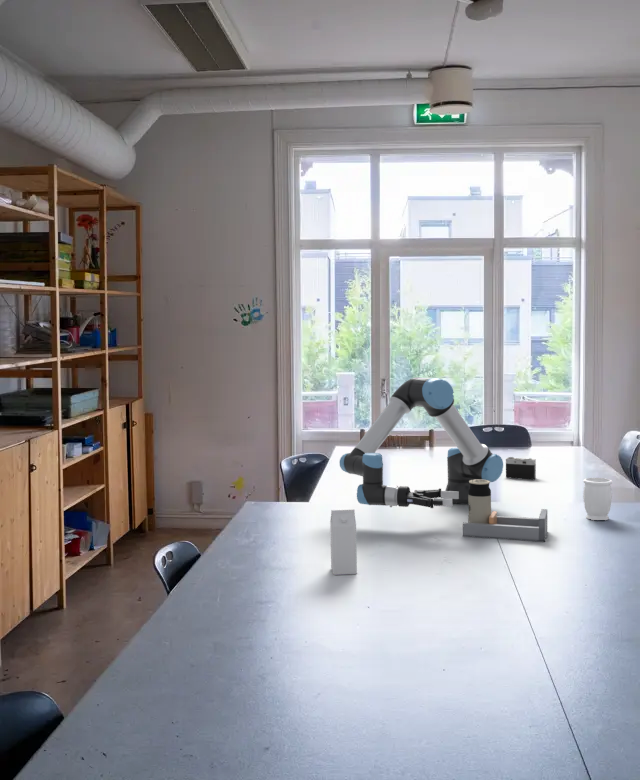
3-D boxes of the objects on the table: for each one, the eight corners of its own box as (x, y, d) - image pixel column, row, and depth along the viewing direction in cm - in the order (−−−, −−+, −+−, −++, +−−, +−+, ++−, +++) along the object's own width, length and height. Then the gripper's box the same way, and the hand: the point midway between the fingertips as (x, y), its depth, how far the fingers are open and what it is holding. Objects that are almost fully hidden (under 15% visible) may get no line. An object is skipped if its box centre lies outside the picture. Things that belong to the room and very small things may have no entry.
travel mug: (492, 528, 285) (492, 479, 284) (489, 533, 277) (489, 483, 276) (470, 527, 287) (470, 478, 286) (467, 532, 280) (466, 482, 279)
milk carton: (331, 568, 242) (330, 507, 241) (354, 567, 243) (353, 507, 241) (333, 575, 235) (332, 513, 234) (357, 574, 236) (356, 512, 234)
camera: (537, 477, 387) (537, 457, 387) (534, 479, 380) (534, 459, 379) (509, 475, 394) (509, 455, 393) (505, 477, 387) (505, 457, 386)
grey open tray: (469, 526, 291) (469, 505, 291) (547, 531, 282) (547, 509, 281) (462, 536, 277) (462, 514, 276) (544, 541, 268) (544, 518, 267)
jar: (614, 522, 293) (614, 482, 292) (585, 521, 295) (585, 482, 294) (609, 515, 303) (609, 477, 302) (581, 515, 305) (581, 477, 304)
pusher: (492, 527, 286) (492, 511, 285) (496, 527, 285) (496, 511, 285) (489, 534, 276) (489, 517, 276) (493, 534, 276) (493, 517, 275)
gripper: (406, 499, 303) (460, 502, 296) (390, 513, 280) (449, 516, 273) (405, 480, 303) (460, 482, 296) (390, 492, 279) (449, 495, 272)
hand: (455, 499), depth 284 cm, fingers open, 13 cm apart
